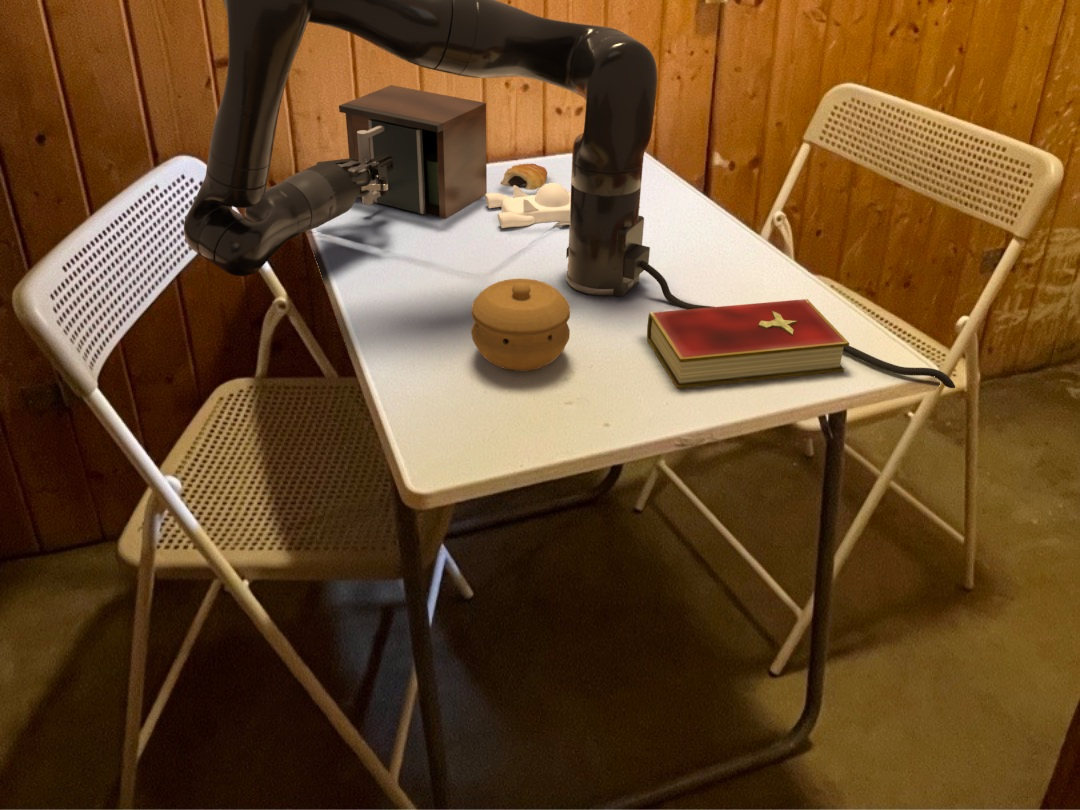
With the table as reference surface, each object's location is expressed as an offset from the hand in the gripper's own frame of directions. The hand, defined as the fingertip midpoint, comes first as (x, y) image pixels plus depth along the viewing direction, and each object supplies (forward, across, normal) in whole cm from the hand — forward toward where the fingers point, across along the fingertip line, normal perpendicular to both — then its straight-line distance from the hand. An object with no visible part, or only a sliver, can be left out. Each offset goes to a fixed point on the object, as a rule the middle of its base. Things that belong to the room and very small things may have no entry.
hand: (388, 160), depth 151 cm
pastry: (+25, -10, +10) cm, 28 cm away
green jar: (+10, -3, +9) cm, 13 cm away
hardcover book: (-11, -60, +10) cm, 62 cm away
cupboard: (+10, +2, +10) cm, 14 cm away
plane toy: (+15, -20, +10) cm, 27 cm away
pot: (-25, -38, +10) cm, 46 cm away
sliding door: (0, +1, +9) cm, 9 cm away
